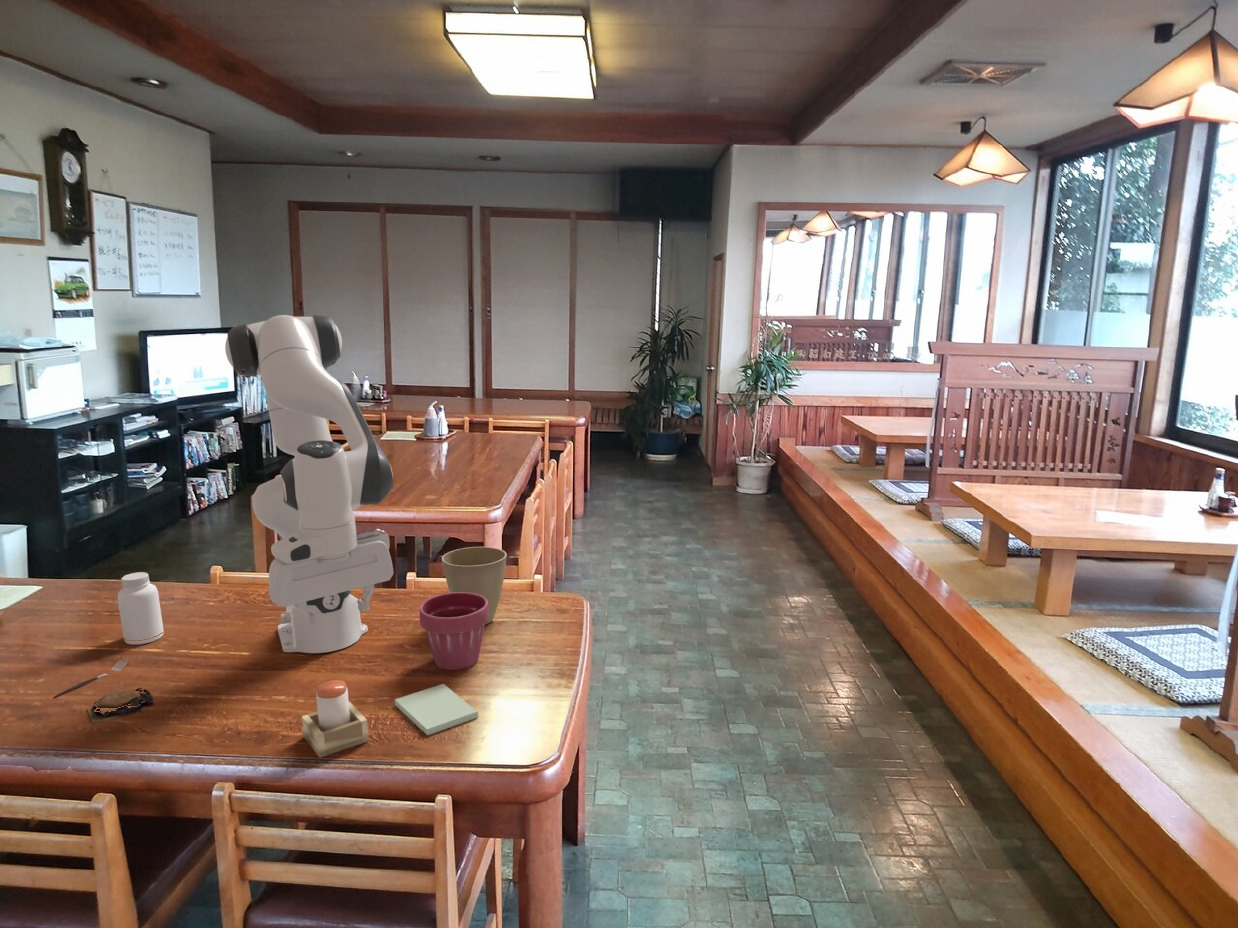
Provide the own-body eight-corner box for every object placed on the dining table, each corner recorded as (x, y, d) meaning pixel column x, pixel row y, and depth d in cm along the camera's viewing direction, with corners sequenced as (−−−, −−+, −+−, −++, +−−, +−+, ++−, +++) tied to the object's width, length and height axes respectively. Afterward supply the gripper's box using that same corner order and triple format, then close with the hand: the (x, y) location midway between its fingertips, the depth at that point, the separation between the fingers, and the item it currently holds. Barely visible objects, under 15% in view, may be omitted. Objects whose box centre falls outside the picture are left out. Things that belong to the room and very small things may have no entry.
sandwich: (92, 728, 153) (89, 709, 152) (86, 710, 159) (83, 692, 159) (157, 709, 159) (155, 691, 158) (149, 692, 166) (146, 675, 165)
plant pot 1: (520, 622, 196) (517, 557, 193) (461, 638, 188) (457, 570, 185) (492, 603, 208) (489, 542, 205) (435, 617, 200) (431, 553, 197)
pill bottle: (115, 642, 188) (106, 579, 185) (147, 629, 196) (138, 568, 192) (141, 647, 185) (131, 583, 182) (172, 634, 193) (163, 572, 189)
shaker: (315, 732, 147) (311, 685, 145) (345, 723, 150) (340, 676, 148) (325, 745, 143) (321, 696, 141) (355, 734, 146) (351, 687, 144)
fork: (49, 699, 163) (47, 689, 163) (123, 665, 178) (121, 656, 177) (58, 701, 162) (56, 691, 162) (131, 666, 177) (130, 658, 177)
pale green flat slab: (395, 705, 158) (394, 699, 158) (443, 689, 164) (443, 683, 164) (427, 735, 147) (426, 729, 147) (478, 717, 153) (477, 711, 153)
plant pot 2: (477, 678, 169) (474, 618, 166) (411, 673, 171) (407, 614, 168) (499, 648, 182) (497, 593, 180) (438, 644, 185) (435, 589, 182)
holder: (303, 737, 147) (301, 716, 147) (351, 721, 152) (349, 701, 152) (319, 757, 141) (317, 736, 140) (368, 740, 146) (367, 719, 145)
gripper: (380, 523, 149) (387, 597, 151) (260, 547, 136) (270, 627, 139) (395, 530, 144) (402, 606, 147) (273, 556, 131) (283, 639, 134)
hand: (337, 617), depth 143 cm, fingers open, 8 cm apart
